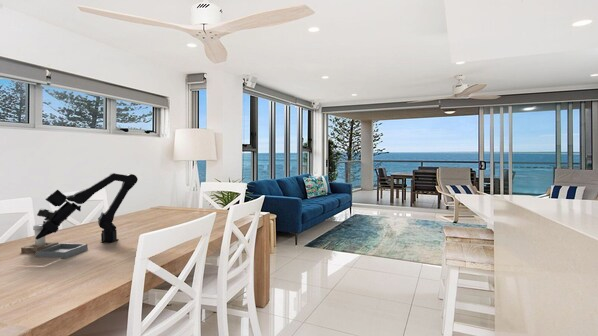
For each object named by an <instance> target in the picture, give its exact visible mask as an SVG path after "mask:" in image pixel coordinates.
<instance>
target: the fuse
mask: <svg viewBox="0 0 598 336" xmlns="http://www.w3.org/2000/svg"><path fill="white" fill-rule="evenodd" d="M32 228H33V230H32V231H34V244H35V247H42V246H45V245H46V242H47V241H46V236H44V237H42V238H40V239H35V238H36V236H37V235H38V234H39V233H40V231H41V230H42V229H43V223H42V224H34V225H33V226H32Z"/></svg>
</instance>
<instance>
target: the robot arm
mask: <svg viewBox="0 0 598 336" xmlns="http://www.w3.org/2000/svg"><path fill="white" fill-rule="evenodd" d="M115 181H117V182H122V184H121V187H120V188H119V191H118V192H117V194H116V196H115V197H114V199H113V200H112V202H111V204H110V205H109V207H108V208H107V210H106V211H105V212H103V211H102V212H101V213H100V216H99V217H97V220H98V221H97V223H98V224H97V225H98V227H99V228H100V229H102V230H101V234H100V236H101V237H100V239H101V242H100V241H99V243H100V244H101V243H103V244H107V243H108V244H112V243H114V242H116V241H119V238H117V237H118V235H117V226H116V225H115V223H113V222H114V218H115V214H116V213H117V211H118V209H119V208H120V205H122V202H123V201H124V199H125V198H126V196H127V194H128V192H129V191H130V190H131V189H132V188H134V186H135V185H136V184H137V182H138V177H137V175H135V174H132V173H128V174H119V173H114V172H112V173H110V174H109V175H108V176H106V177H104V178H102V179H101V180H99V181H98V182H96V183H94V184H93V185H91V186H89V187H87V188H85V189H82V190H79V191H77V192H75V193H74V194H72V195H66V194H64V193H63V192H62V191H60V190H59V189H56V190H55V191H53V192H52V193H50V195H48V196H47V197H46V198H45V201H46V202H48V203H49V204H51V205H52V206H54V207H55V208H56V207H59V208H58V209H56V210H54V211H53V210H49V209H46V208H39V211H38V212H37V214H36V216H38V217H43V218H44V220H43V223H42V224H43V229H42V230H41V231H40V233H39V234H38V235H37V236H36V238H35V237H34V240H35V239H40V238H42V237H44V236H45V237H46V236H49V235H50V234H53V233H54V234H55V233H57V232H58V231H59V227H60V226H61V224H63V222H64V221H66V220H68V218H69V217H70V216H71V215H72V214H73V213H74V212H75V211H76V210H77V211H78V212H81V210H82V209H81V207H82V206H81V205H83V204H85V203H86V202H87V201H88V200H90V198H92V196H94V194H96V193H98V192H100V191H101V190H102V189H105V187H107V186H108V185H110V184H112V183H113V182H115Z"/></svg>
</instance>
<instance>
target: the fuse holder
mask: <svg viewBox="0 0 598 336" xmlns="http://www.w3.org/2000/svg"><path fill="white" fill-rule="evenodd" d="M57 244H60V243H59V241H57V242H56V241H55V242H53V241H46V245H45V246H42V247H35V243H32V244H28V245H26V246H23V247H20V249H21V250H20V251H21V252H20V253H22V254H36V252H37V251H40V250H43V249H46V248H49V247H51V246H54V245H57Z"/></svg>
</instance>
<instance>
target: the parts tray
mask: <svg viewBox="0 0 598 336" xmlns="http://www.w3.org/2000/svg"><path fill="white" fill-rule="evenodd" d="M87 250H88V243H70V242H69V243H66V242H65V243H63V242H60V243H59V244H57V245H54V246H51V247H49V248H46V249H43V250H40V251H37V252H36V253H35V258H60V260H61V259H62V260H64V259H65V260H66V259H68V258H70V257H72V256H75V255H77V254H80V253H83V252H85V251H87Z"/></svg>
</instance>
